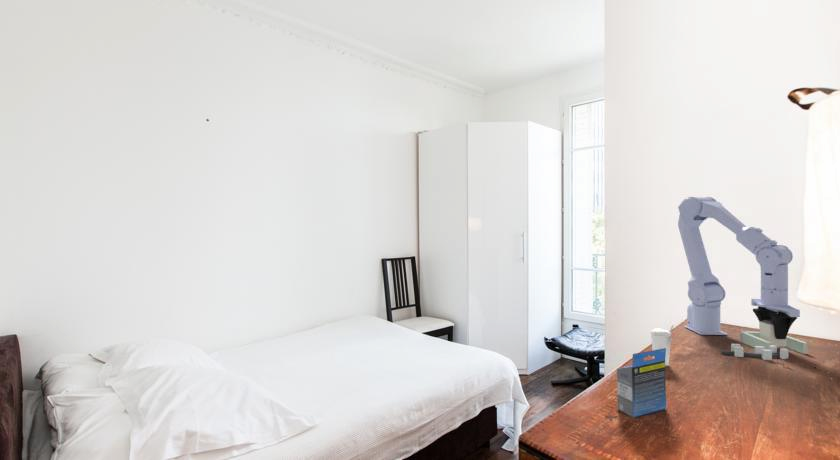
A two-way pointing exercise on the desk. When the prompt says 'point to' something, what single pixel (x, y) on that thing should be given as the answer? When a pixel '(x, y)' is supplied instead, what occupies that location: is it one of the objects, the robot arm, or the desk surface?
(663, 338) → the milkshake
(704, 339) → the desk surface
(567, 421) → the desk surface
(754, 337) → the holder
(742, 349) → the clips
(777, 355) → the cable
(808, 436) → the desk surface
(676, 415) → the desk surface
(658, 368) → the label tape cartridge
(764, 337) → the block
